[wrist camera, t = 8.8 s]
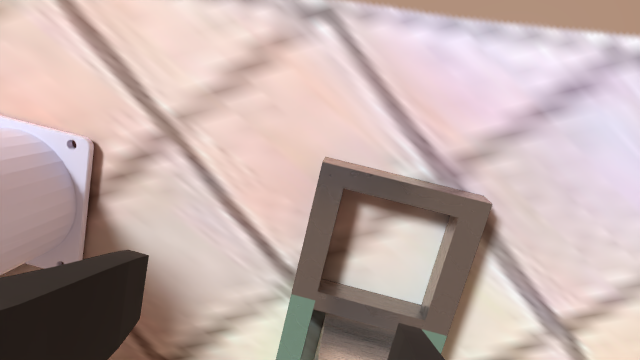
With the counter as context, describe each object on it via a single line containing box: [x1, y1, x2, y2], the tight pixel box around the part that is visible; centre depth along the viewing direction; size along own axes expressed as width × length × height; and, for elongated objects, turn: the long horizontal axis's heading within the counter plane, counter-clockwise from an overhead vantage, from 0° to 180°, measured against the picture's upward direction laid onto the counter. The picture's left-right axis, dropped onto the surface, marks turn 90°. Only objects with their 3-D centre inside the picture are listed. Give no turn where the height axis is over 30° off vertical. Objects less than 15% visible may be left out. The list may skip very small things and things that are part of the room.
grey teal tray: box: [276, 157, 492, 360], centre depth 21 cm, size 8×14×2 cm, turn 167°
